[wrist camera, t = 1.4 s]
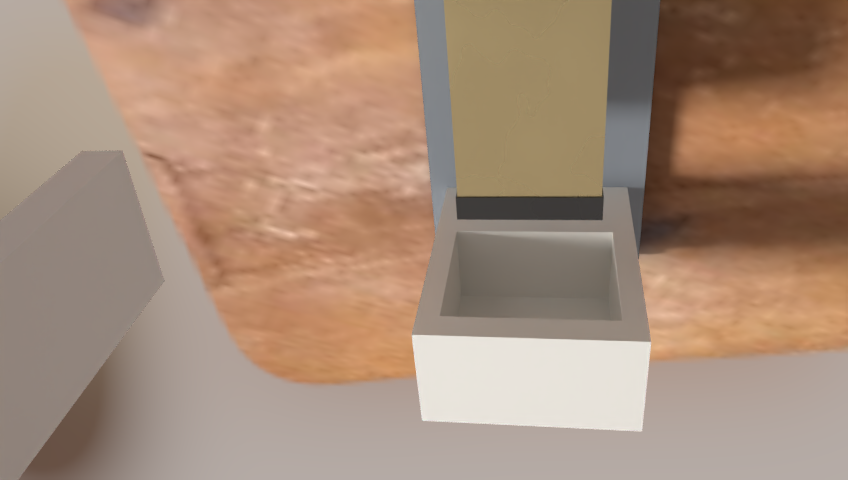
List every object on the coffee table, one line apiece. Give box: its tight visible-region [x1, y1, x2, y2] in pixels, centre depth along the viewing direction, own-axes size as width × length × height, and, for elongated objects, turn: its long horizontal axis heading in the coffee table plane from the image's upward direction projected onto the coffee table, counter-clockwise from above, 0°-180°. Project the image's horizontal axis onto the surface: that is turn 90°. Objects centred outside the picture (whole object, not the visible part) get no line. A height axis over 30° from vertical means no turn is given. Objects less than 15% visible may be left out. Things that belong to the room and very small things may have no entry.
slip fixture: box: [412, 0, 660, 431], centre depth 24 cm, size 26×9×11 cm, turn 5°
